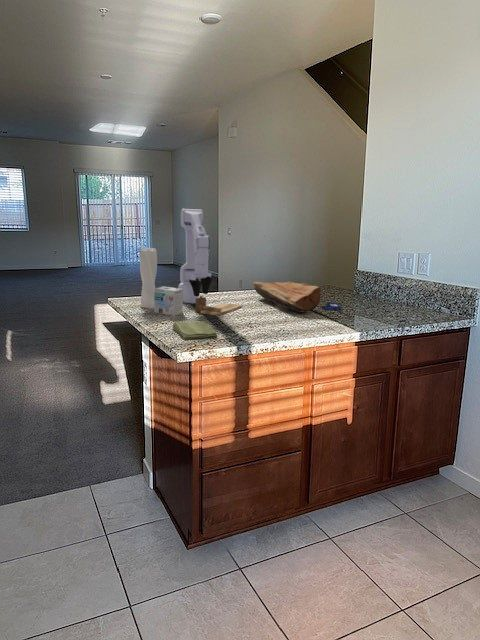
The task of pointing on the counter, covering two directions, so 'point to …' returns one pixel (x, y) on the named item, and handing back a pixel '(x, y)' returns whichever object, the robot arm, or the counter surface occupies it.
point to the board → (225, 309)
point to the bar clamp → (333, 307)
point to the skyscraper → (148, 276)
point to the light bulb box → (168, 301)
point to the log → (290, 295)
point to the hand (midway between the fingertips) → (201, 295)
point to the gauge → (204, 305)
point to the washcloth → (194, 330)
